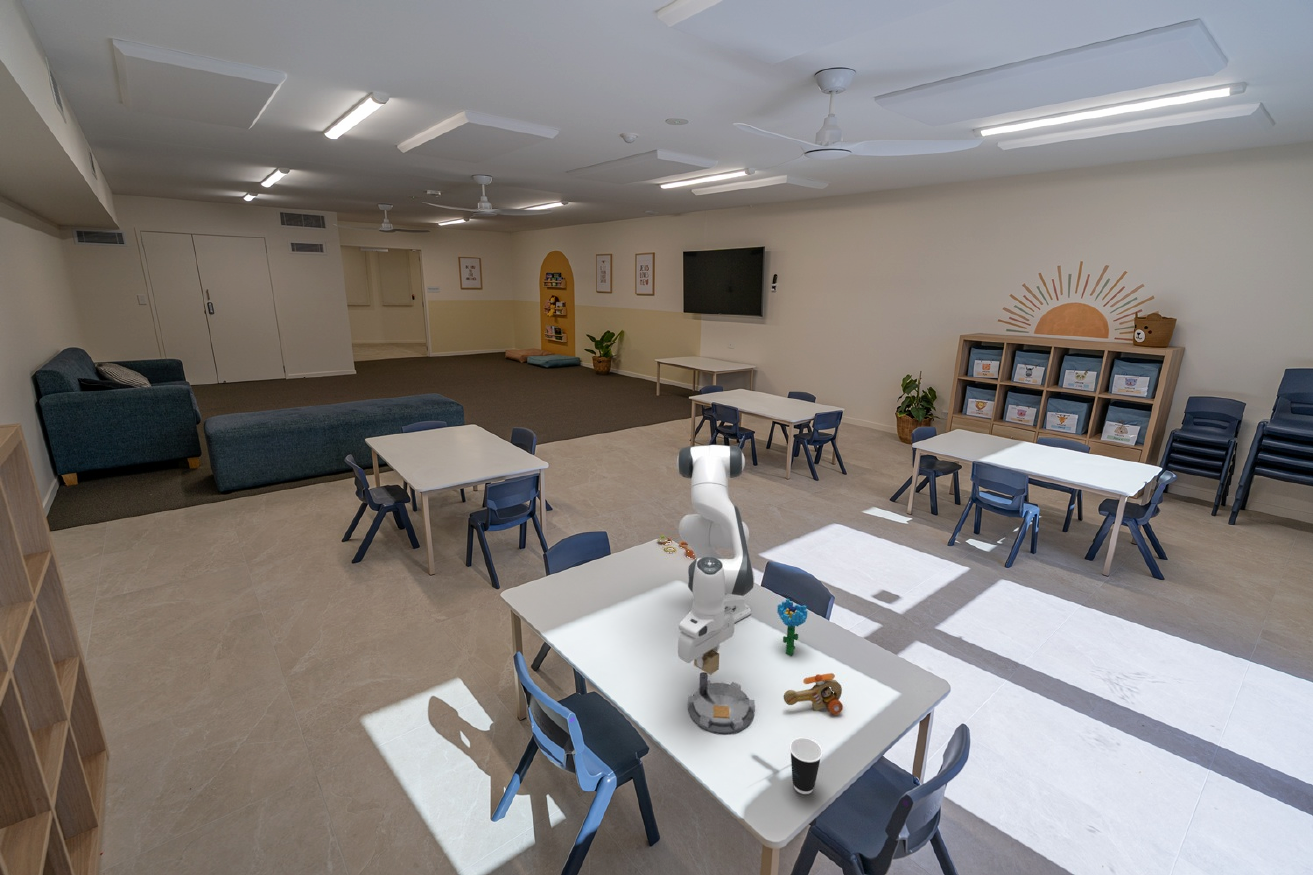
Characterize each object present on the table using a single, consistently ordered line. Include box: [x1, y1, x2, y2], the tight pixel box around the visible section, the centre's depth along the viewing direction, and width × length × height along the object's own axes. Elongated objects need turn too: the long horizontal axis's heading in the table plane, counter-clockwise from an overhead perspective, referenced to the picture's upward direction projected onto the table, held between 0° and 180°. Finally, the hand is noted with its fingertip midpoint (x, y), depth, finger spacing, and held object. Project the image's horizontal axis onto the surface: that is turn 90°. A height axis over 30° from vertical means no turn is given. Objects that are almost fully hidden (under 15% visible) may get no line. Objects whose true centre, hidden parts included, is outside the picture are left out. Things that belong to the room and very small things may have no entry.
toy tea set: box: [657, 534, 696, 560], centre depth 270 cm, size 26×16×10 cm, turn 67°
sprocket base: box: [687, 693, 755, 735], centre depth 168 cm, size 19×19×1 cm
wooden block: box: [693, 649, 720, 676], centre depth 161 cm, size 6×4×5 cm, turn 45°
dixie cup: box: [788, 736, 824, 795], centre depth 140 cm, size 8×8×11 cm
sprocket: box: [687, 671, 756, 730], centre depth 166 cm, size 18×19×8 cm
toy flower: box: [777, 598, 809, 657], centre depth 193 cm, size 9×9×18 cm
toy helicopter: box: [783, 672, 844, 715], centre depth 167 cm, size 7×18×12 cm, turn 101°
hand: (706, 661), depth 161 cm, fingers closed on wooden block, 3 cm apart
